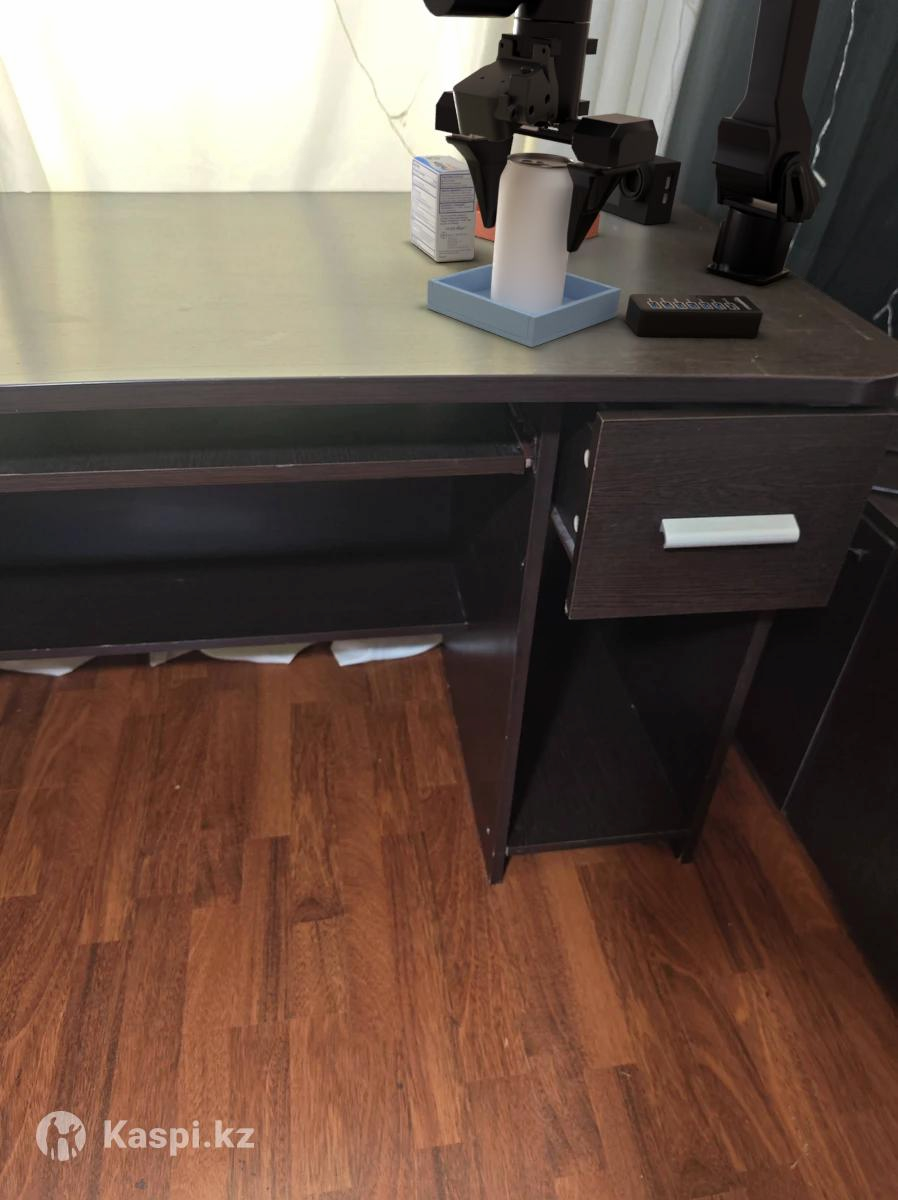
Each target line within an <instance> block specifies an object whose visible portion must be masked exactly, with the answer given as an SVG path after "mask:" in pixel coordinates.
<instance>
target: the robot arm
mask: <svg viewBox="0 0 898 1200" xmlns="http://www.w3.org/2000/svg"><path fill="white" fill-rule="evenodd" d="M422 2H423V4H424V6H425V8H426V9H427V11H428V12H429V14H431V15H433V16H435V17H437V18H438V17H439V18H440V17H441V18H473V19H474V18H475V19H476V18H478V19H506V18H509V17H511V16H512V15H513V16H514V17H513V22H512V24H513V25H512V32H510V33H509V32H508V33H501V38H500V40H499V41H498V45H497V54H496V58H495V61H493V62H491V63H489V64H486V65H483V66H481V67H479V68H478V69H477V70H476V71H474V72H472V73H471V74H469V75H468V76H466V77H464V78H463V79H461V80H460V81H458V82H457V83H456V84H454V85H453V87H452V90H447V91H445V90H444V91H443V92H442V94H441V95H440V97H439V99H438V100H437V102H436V104H435V109H434V110H435V113H434V131H438V132H439V131H440V132H444V133H448V134H449V135H445V136H444V139H445V141H446V143H447V144H448V145H451V146H453V147H454V148H455V149H456V150H457V152H458V153H460V155H461V156H462V157H463V158H464V160H465V162H466V164H467V165H468V168H469V171H470V174H471V177H472V181H473V185H474V189H475V193H476V197H477V201H478V206H479V210H480V214H481V218H482V222H483V226H484V228H487V229H489V228H493V227H494V226H495V223H496V218H497V206H498V195H499V184H500V177H501V174H502V172H503V170H504V169H505V167H506V165H507V161H508V160H507V156H508V155H510V154H512V147H513V143H514V137H515V136H514V135H515V134H516V135H519V136H525V137H530V138H536V139H540V140H544V141H550V142H556V143H559V144H565V145H569V146H571V147H570V148H571V150H572V152H573V154H574V157H575V158H576V161H578V162H575V163H572V164H567V169H568V171H569V174H570V177H571V179H572V182H573V192H572V200H571V207H570V215H569V222H568V230H567V252H569V253H570V254H573V253H576V252H578V251H579V249H580V247H581V246H582V244H583V242H584V241H585V240H586V239H585V237H586V235H587V233H588V232H589V230H590V228H591V226H592V225H593V223H594V221H595V220H596V218H597V216H598V214H599V213H600V214H601V212H602V210H601V209H602V208H603V206H604V204H605V203H606V201H607V200H608V198H609V197H610V195H611V194H612V192H613V191H614V190H615V188H616V187H617V185H618V184H619V183H620V181H621V180H622V178H623V177H624V176H625V174H626V173H627V172H632V171H637V170H638V167H639V164H640V163H645V162H651V161H654V160H655V155H657V149H658V143H659V138H660V137H659V134H658V132H657V128H656V125H655V121H654V119H651V118H646V117H640V116H636V115H635V116H634V115H629V114H624V113H618V112H613V113H604V114H597V115H589V113H590V104H591V100H587V99H582V90H583V82H584V75H585V74H584V73H585V67H586V58H587V56H589V55H590V56H591V55H595V56H596V55H597V52H598V44H599V38H594V37H589V35H590V27H591V19H592V9H593V2H594V0H422ZM820 3H821V0H760V2H759V9H758V15H757V21H756V27H755V34H754V41H753V42H754V43H753V47H752V52H751V53H752V54H751V59H750V66H749V73H748V80H747V86H746V91H745V94H744V97H743V98H742V100H741V101H740V103H739V104H738V106H737V107H736V109H735V111H734V112H733V113H732V115H731V116H729V117H728V116H727V117H726V116H723V117H721V119H720V120H719V123H718V124H717V134H716V136H717V137H716V146H715V151H714V154H713V156H712V159H711V164H712V165H715V169H714V170H715V171H714V173H715V174H714V175H715V179H716V203H717V204H718V205H720V206H727V210H726V211H727V212H726V216H725V219H724V220H722V221H720V223H719V228H718V231H717V236H716V240H715V244H714V250H713V253H712V257H711V260H712V263H711V264H708V265H707V266H706V271H708V272H710V273H714V274H717V275H721V276H724V277H729V278H732V279H735V280H739V281H743V282H746V283H750V284H753V285H756V286H764V285H766V284H768V283H771V282H774V281H776V280H779V279H781V278H783V277H787V276H788V275H789V273H790V270H789V269H788V268H784V267H785V264H786V260H787V257H788V254H789V249H790V245H791V243H792V239H793V235H794V233H795V229H796V228H795V227H796V225H797V224H803V223H804V222H805V221H807V220H808V221H809V220H811V219H812V218H813V215H814V213H815V211H816V209H817V207H818V205H819V204H820V203H819V202H820V200H821V193H820V191H819V188H818V185H817V182H816V179H815V176H814V173H813V170H812V167H811V163H810V157H811V149H812V148H811V147H812V146H811V145H812V140H813V139H812V138H813V127H812V124H811V120H810V117H809V114H808V111H807V108H806V105H805V101H804V98H803V94H804V86H805V81H806V75H807V71H808V66H809V60H810V55H811V50H812V46H813V41H814V35H815V29H816V24H817V19H818V14H819V9H820ZM579 117H581V118H579Z"/></svg>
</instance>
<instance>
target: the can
mask: <svg viewBox="0 0 898 1200" xmlns="http://www.w3.org/2000/svg"><path fill="white" fill-rule="evenodd" d="M507 160H508V161H507V165H506V167H505V169H504V170H503V172H502V174H501V177H500V184H499V195H498V206H497V218H496V231H495V242H494V244H493V245H494V246H493V257H492V263H493V269H492V282H491V297H490V299H491V300H494V301H497V302H500V303H503V304H506V305H508V306H511V307H514V308H517V309H520V310H523V311H525V312H528V313H531V314H533V315H534V314H537V313H540V312H543V311H546V310H549V309H552V308H555V307H558V306H561V305H562V299H563V292H564V285H565V278H566V272H567V270H568V269H567V268H568V262H569V255H570V254H569V252H567V230H568V222H569V215H570V207H571V200H572V192H573V182H572V179H571V177H570V174H569V171H568V169H567V164H572V163H576V161H575V160H574V159H572V158H570V157H567V156H563V155H559V154H553V153H544V152H516V153H515V152H514V153H511V154H510V155H508V156H507Z"/></svg>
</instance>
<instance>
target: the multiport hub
mask: <svg viewBox="0 0 898 1200" xmlns="http://www.w3.org/2000/svg"><path fill="white" fill-rule="evenodd" d="M763 315H764V310H762V308H761V307H759V306H758V305H756V304H755V303H754V302H753V301H752V300H750V298H748V297H747V296H745V295H716V294H715V295H714V294H713V295H712V294H711V295H710V294H709V295H708V294H707V295H706V294H663V293H662V294H660V293H659V294H658V293H657V294H656V293H655V294H653V293H652V294H650V293H631V294H629V297H628V301H627V308H626V313H625V319H624V321H625V322H626V324H627V325H628V327H629V328H630V329H631V330H632V331H633V333H634V334H635V335H636V336H638V337H642V338H644V337H645V338H651V337H652V338H706V339H707V338H708V339H709V338H710V339H711V338H712V339H713V338H717V339H718V338H720V339H723V338H724V339H755V338H758V334H759V330H760V326H761V322H762V320H763Z"/></svg>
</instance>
